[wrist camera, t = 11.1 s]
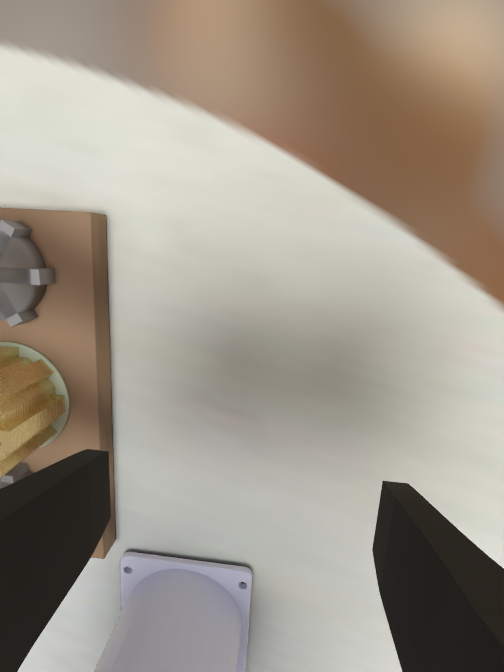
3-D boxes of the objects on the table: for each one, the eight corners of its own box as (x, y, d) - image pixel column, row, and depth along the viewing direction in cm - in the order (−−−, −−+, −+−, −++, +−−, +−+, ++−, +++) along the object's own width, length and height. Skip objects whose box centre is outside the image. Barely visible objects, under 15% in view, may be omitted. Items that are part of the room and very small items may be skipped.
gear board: (115, 539, 23) (67, 619, 18) (-22, 521, 24) (-104, 594, 19) (106, 215, 19) (38, 203, 14) (-61, 206, 20) (-182, 192, 15)
